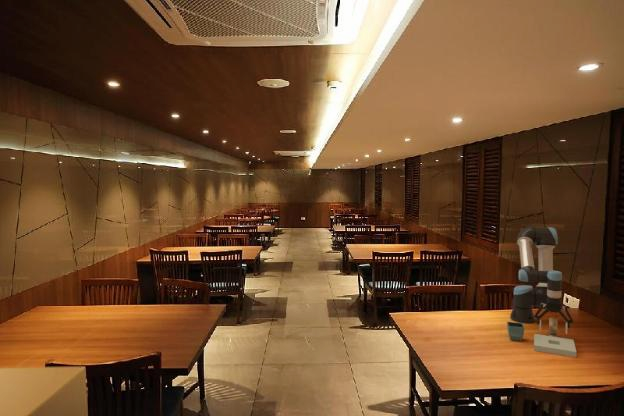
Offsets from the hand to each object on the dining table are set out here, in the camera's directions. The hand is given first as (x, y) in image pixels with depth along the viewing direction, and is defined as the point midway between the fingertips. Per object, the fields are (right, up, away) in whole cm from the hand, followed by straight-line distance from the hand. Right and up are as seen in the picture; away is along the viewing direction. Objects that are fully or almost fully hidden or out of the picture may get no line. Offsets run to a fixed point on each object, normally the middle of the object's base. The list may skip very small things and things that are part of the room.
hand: (553, 331), depth 249 cm
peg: (0, -4, 0) cm, 4 cm away
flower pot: (-23, -5, -1) cm, 24 cm away
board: (-7, -5, -14) cm, 16 cm away
